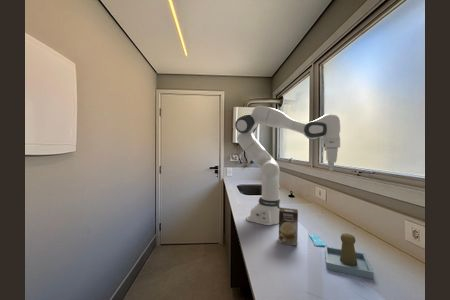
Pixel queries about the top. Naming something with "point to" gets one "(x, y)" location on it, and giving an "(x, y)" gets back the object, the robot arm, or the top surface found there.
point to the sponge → (317, 241)
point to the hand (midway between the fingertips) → (330, 169)
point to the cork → (348, 250)
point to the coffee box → (288, 226)
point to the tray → (335, 264)
